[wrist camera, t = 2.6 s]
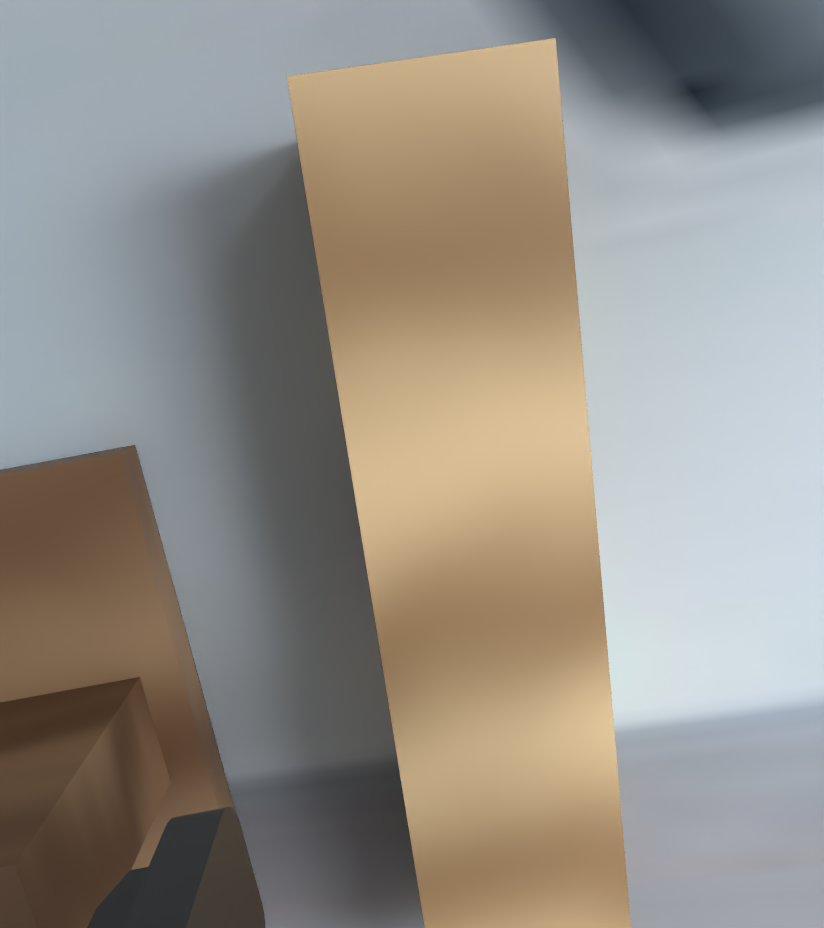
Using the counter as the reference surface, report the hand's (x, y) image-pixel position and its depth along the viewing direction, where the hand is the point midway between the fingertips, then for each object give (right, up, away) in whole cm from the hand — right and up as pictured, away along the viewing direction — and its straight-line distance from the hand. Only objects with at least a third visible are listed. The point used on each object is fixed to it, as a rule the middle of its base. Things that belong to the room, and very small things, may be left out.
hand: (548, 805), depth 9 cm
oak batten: (0, +2, +9) cm, 10 cm away
